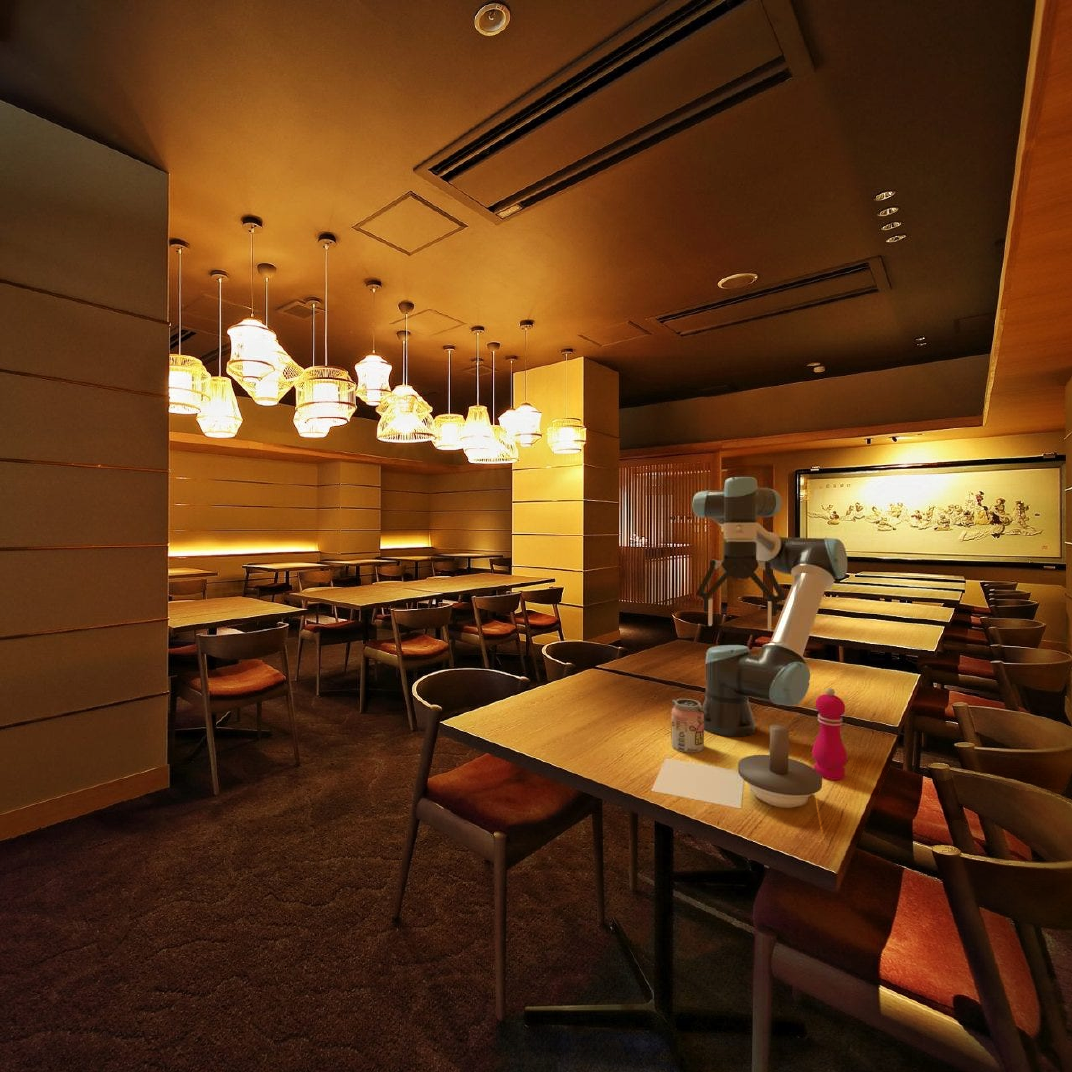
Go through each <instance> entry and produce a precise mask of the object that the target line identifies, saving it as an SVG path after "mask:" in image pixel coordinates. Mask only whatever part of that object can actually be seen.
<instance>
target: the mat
mask: <svg viewBox="0 0 1072 1072" xmlns="http://www.w3.org/2000/svg"><path fill="white" fill-rule="evenodd" d="M744 781H745V780H744V779H743V778H742V777H741V776H740V775H739V773H738V769H731V768H724V767H719V766H714V765H708V764H702V763H697V762H692V761H691V762H689V761H684V760H681V759H680V760H679V759H673V758H665V759H664V761H663V763H662V765H661V768H660V769H659V771H658V774H657V776H656V779H655V781H654V783H653V785H652V788H651V790H650V791H651V792H655V793H658V794H664V795H670V796H673V797H679V798H684V799H690V800H695V801H699V802H704V803H708V804H714V805H718V806H724V807H730V808H735V809H740V810H741V809H742V801H743V791H744V790H743V789H744Z"/></svg>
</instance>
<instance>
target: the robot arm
mask: <svg viewBox="0 0 1072 1072" xmlns="http://www.w3.org/2000/svg"><path fill="white" fill-rule="evenodd" d="M691 503H692V504H691V507H692V512H693V514H694V515H695V516H696V517H697V518H699V519H700V518H703V519H711V520H712V521H714V522H715V523H717V525H718V526H720V527H721V528H722V529H723V539H724V540H725V541H724V542H723V559H722V560H716V559H714V558H713V559H711V560H710V562H709V569H708V570H707V573H706V574H705V576H704V578H703V579H702V582H701V584H700V585H699V587H698V589H697V590H696V592H695V593H696V596H697V597H700V598H702V599H703V612H705V613H708V614H707V615H708V617H707V619H708V620H707V622H708V623H707V624H708V625H707V626H709V627H711V626H712V625H713V605H714V604H713V598H710V597H711V596H712V595H713V594H714V593H715V592H716V591H717V590H718V589H719V588H720V586H721V585H723V583H724V582H725V581H726V580H727V579H728V578H729V577H730V578H732V579H733V580H734V579H742V580H747V579H749V578H750V579H751V580H752V581H754V583H755V584H756V585H757V587H758V588H759V589H760V590H761V591H762V592H763V593H764V594H765V595H766V597H767V598H768V599H769V600H770V601H767V630H768V631H772V617H773V616H774V617H776V616H777V613H778V611H777V610H778V602H781V601H785V603H784V605H783V607H782V610H781V613H780V616H779V618H778V621H777V622H776V627H775V629H774V631H773V634H772V636H771V638H770V641H769V643H766V644H763V645H762V647H761V648H760V651H759V653H758V654H755V653H750V652H751V650H750V648H749V647H748V646H746V645H741V644H727V645H726V644H725V645H716V646H712V647H709V648H708V649H707V651H706V654H705V655H706V656H705V662H704V663H705V699H704V701H703V705H702V706H703V708H704V709H705V710H706V711H707V713H706V715H704V731H707V732H710V733H712V734H716V735H720V736H728V737H744V736H745V737H746V736H750V735H752V734H754V733H755V732H756V721H755V718H754V715H753V712H752V708H751V706H750V705H751V704H750V702H749V701H750V700H749V697H750V698H751V699H757V700H761V701H765V702H769V703H772V704H774V705H778V706H779V705H782V706H786V707H787V706H788V707H794V706H796V705H798V704H800V703H801V702H802V701H803V700H804V698H805V697H806V695H807V693H808V690H809V688H810V683H811V682H810V680H811V671H810V668H809V667H808V665H807V661H806V659H805V658H804V652H805V649H806V647H807V644H808V640H809V637H810V635H811V632H812V628H813V625H814V623H815V620H816V617H817V614H818V611H819V609H820V606H821V603H822V600H823V597H824V595H825V592H826V590H827V589H830V588H832V587H833V585H834V583H835V580H836V579H838V580H839V579H843V578H845V577H846V575H847V572H848V557H847V554H848V553H847V551H846V547H845V545H844V543H843V542H842V541H841V540H840V539H838V538H829V537H824V538H821V537H819V538H818V537H789V536H788V537H784V536H779V535H777V534H776V533H774V532H771V531H768V530H766V528H764V527H763V526H762V525H761V524H760V523H759V522H758V521H757V518H769V517H774V516H775V515H777V514H778V513H779V512H780V510H781V509H782V504H783V500H782V496H781V495H780V493H779V492H778V491H777V490H774V489H772V488H769V487H759V486H758V481H757V479H756V478H755V477H752V476H735V477H734V476H733V477H729V478H727V479H725V481H724V488H723V489H715V490H713V489H712V490H711V489H707V490H701V491H699V492H695V495H694V496H693V498H692V502H691ZM720 566H721V567H722V569H724V573H723V574H722V575H721V577H720V578H719V579H718V580H717V581H716V582H715V583H714V584H713V585H712V586H711V587H710V588H709V590H707V591H706V592H705V589H706V588H707V586H708V584H709V582H710V580H711V578H712V576H713V574H714V572H715V571H716V570H717V569H719V567H720ZM758 567H760V568H761V570H762V571H765V573H766V575H767V577H768V578H769V581H770V583H771V585H772V587H773V588H774V591H775V592H776V594H777V595H774V593H773V592H772V591H771V590H770V589H769V588H768V586H767V585H766V584H765V583H764V582H763V581H762V580H761V578H760V577H759V576H758V575H757V574H756V573H755V572H756V570H757V569H758ZM772 570H773V571H776V572H777V573H781V574H784V575H791V577H792V579H793V581H792V583H791V586H790V589H789V592H788V594H787V597H786V596H785V594H784V592H783V590H782V588H781V586H780V584H779V583H778V581H777V578H776V576H775V575H774V573H773V571H772Z"/></svg>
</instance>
